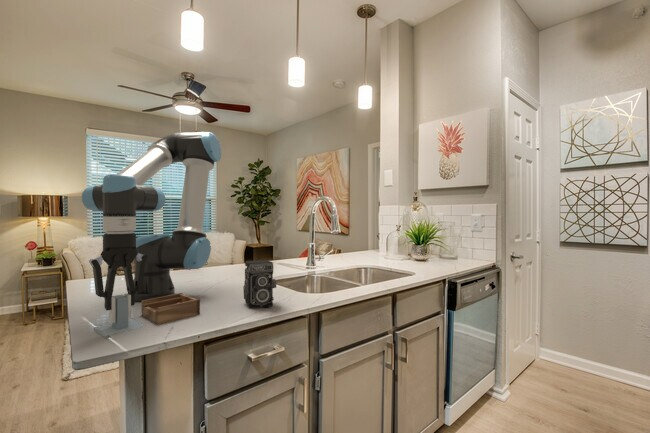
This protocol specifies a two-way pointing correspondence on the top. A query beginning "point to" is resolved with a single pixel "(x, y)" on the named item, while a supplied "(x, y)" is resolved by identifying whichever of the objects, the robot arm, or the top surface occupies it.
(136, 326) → the lid plate
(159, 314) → the walnut box
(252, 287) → the camera
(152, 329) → the top surface
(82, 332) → the top surface
